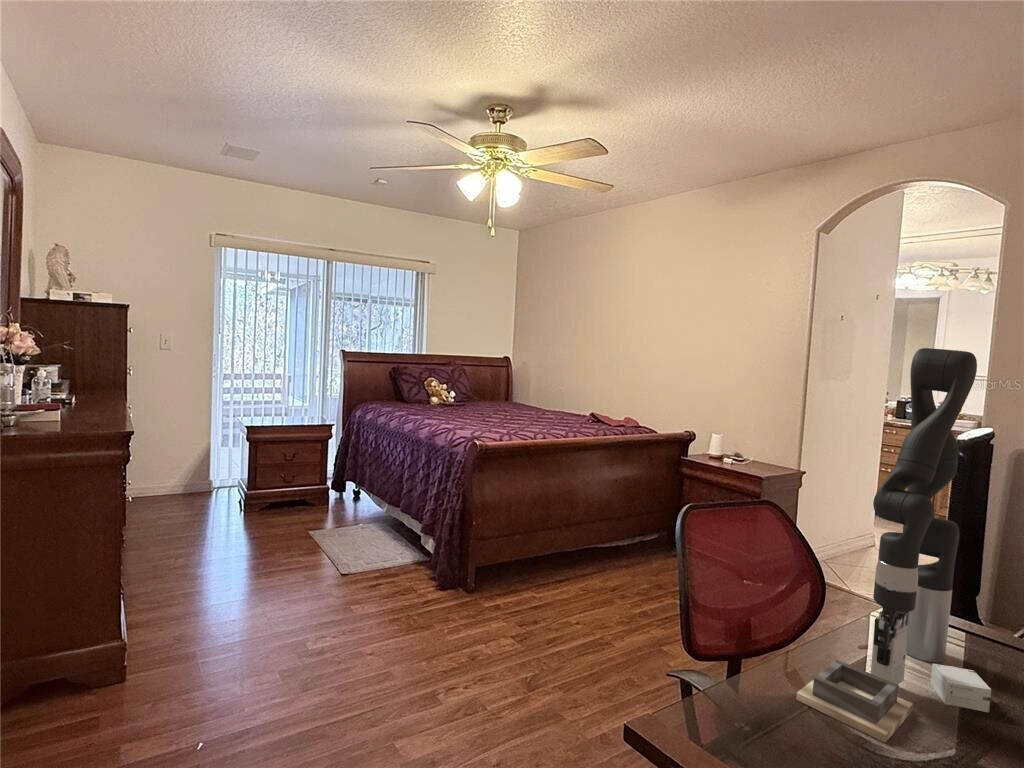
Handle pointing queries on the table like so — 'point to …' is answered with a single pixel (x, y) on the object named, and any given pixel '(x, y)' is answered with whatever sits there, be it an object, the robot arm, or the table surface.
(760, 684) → the table surface
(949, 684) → the small box
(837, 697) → the keyed socket block
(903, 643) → the skincare box
